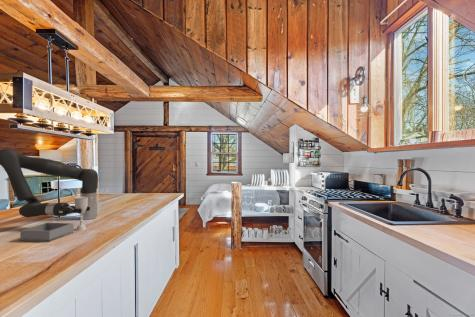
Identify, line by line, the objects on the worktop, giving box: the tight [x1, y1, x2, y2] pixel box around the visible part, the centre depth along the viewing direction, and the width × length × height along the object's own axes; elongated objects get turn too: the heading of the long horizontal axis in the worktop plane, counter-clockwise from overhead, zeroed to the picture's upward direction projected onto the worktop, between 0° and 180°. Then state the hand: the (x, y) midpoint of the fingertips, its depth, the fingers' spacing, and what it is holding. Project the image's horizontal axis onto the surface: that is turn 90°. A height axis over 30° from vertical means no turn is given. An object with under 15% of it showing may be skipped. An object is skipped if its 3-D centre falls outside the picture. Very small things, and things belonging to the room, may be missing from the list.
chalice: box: [73, 196, 89, 231], centre depth 136 cm, size 7×7×18 cm
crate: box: [19, 222, 74, 243], centre depth 123 cm, size 15×15×5 cm
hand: (85, 209), depth 136 cm, fingers closed on chalice, 6 cm apart
